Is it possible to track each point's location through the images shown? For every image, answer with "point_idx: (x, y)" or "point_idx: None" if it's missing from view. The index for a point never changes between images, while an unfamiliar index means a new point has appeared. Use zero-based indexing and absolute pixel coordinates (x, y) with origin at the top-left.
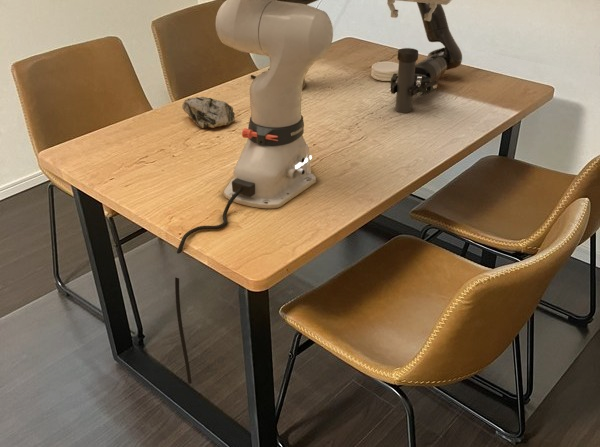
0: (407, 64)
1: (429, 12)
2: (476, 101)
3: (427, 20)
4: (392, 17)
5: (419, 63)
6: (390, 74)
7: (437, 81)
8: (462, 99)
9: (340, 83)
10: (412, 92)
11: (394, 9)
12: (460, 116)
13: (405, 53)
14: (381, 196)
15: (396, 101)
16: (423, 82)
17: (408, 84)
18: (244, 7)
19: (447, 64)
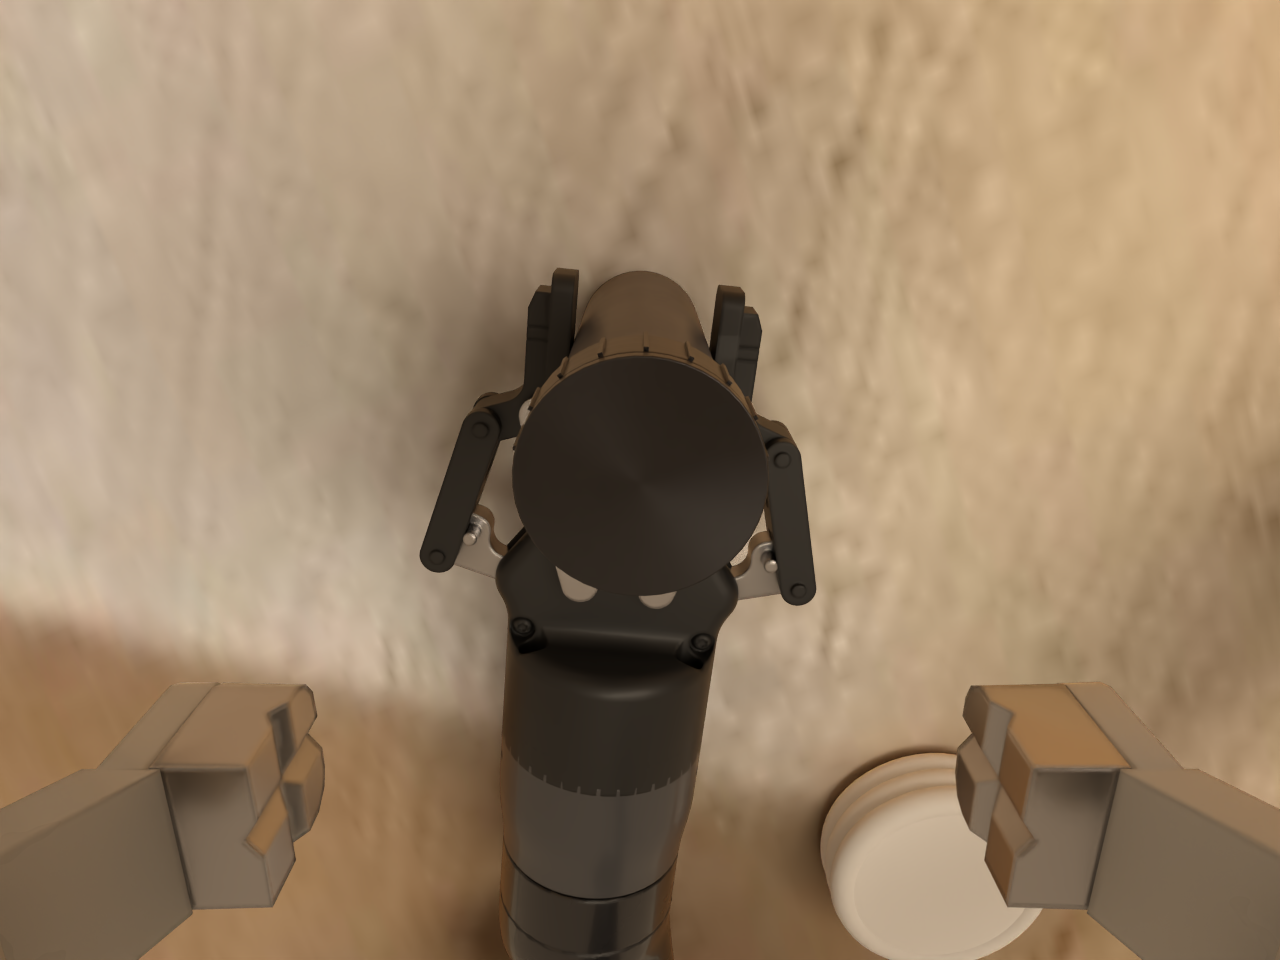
0: None
1: (82, 804)
2: (254, 662)
3: (223, 683)
4: (1055, 691)
5: (640, 760)
6: (889, 799)
7: (421, 559)
8: (344, 661)
9: (1204, 625)
10: (547, 289)
11: (1111, 868)
12: (242, 379)
13: (640, 371)
14: None
15: (692, 308)
16: None
17: (593, 321)
18: None
19: None
